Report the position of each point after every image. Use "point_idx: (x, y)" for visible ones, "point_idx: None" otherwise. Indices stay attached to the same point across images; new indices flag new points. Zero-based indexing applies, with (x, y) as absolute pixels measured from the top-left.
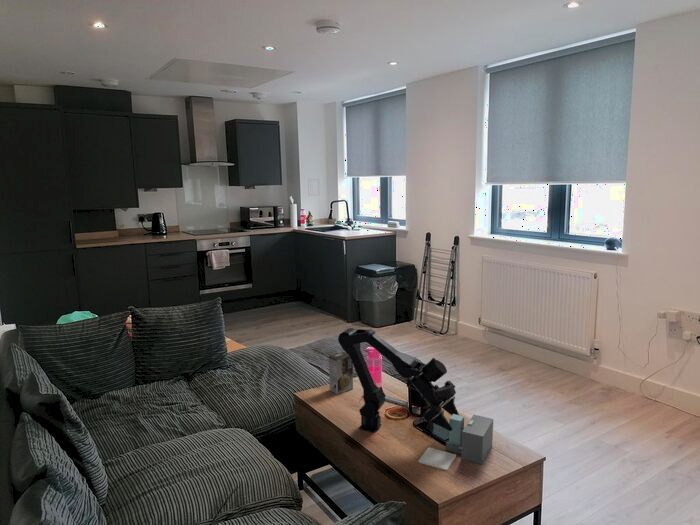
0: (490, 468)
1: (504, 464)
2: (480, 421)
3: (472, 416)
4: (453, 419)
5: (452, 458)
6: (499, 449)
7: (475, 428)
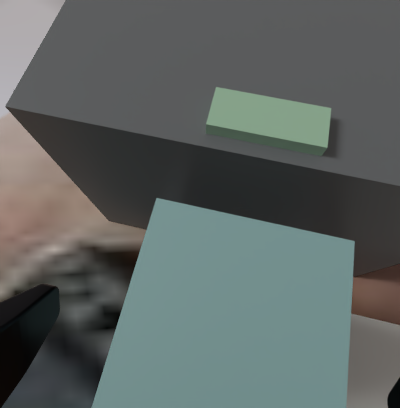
0: None
1: None
2: (182, 38)
3: (62, 117)
4: (343, 392)
5: (395, 333)
6: None
7: (378, 77)
